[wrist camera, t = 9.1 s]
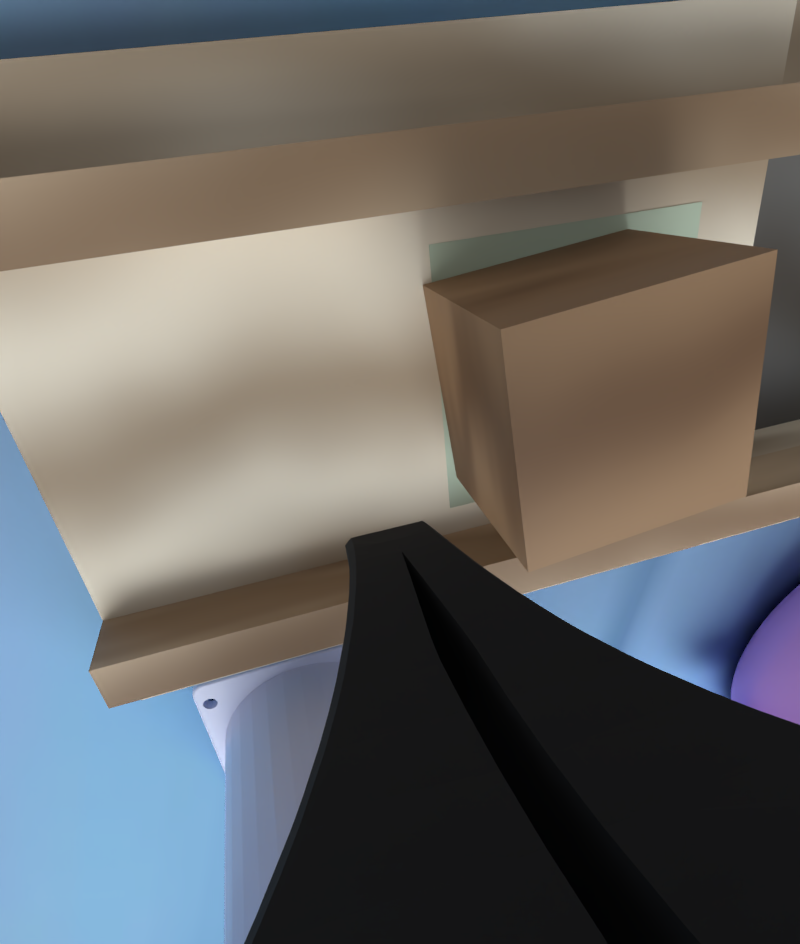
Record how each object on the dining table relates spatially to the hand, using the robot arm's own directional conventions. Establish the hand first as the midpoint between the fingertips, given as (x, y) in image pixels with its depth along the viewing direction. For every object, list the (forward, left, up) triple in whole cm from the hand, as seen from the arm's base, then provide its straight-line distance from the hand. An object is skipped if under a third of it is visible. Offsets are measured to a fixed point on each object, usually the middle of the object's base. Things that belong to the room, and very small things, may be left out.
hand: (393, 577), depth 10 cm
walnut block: (0, -6, -7) cm, 10 cm away
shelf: (0, -7, -9) cm, 12 cm away
